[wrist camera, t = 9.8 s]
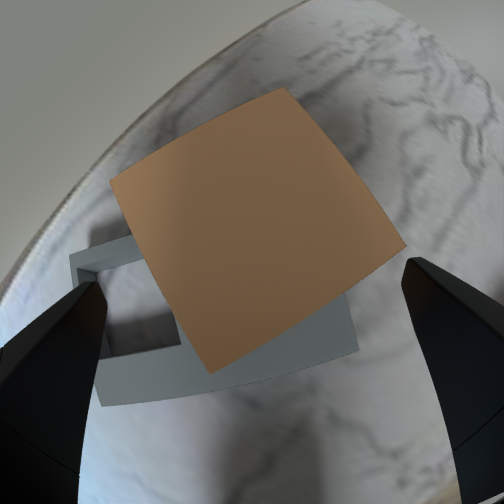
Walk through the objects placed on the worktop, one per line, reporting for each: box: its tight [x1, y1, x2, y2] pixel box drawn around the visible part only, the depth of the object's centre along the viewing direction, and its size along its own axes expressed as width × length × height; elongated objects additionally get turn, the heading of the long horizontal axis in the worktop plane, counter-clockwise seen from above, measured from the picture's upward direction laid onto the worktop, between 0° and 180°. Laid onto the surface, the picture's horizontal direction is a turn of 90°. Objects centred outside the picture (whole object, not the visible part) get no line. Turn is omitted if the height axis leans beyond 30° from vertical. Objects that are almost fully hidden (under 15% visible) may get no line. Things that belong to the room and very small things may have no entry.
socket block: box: [69, 234, 359, 407], centre depth 18 cm, size 10×16×2 cm, turn 105°
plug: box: [109, 87, 406, 375], centre depth 13 cm, size 5×5×13 cm
